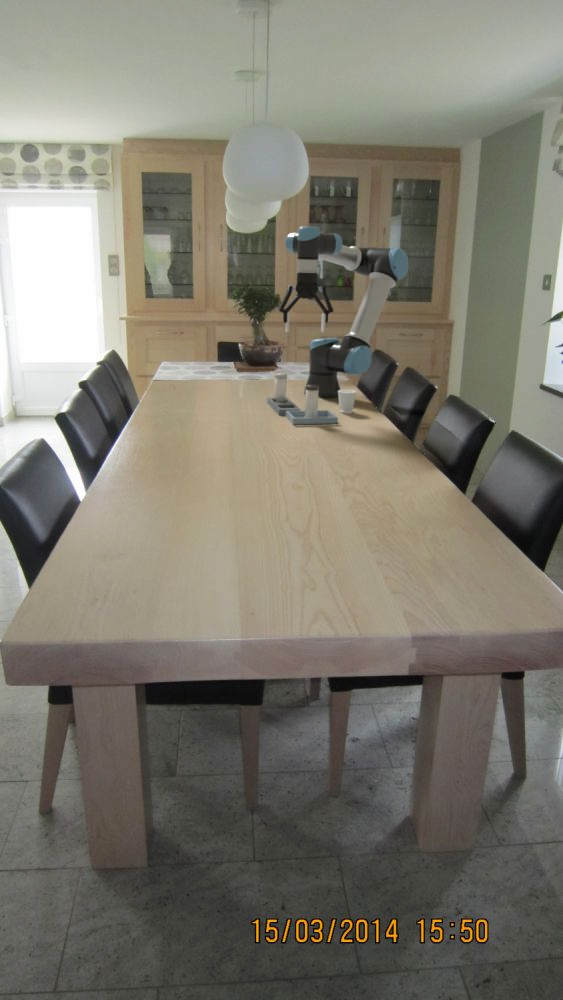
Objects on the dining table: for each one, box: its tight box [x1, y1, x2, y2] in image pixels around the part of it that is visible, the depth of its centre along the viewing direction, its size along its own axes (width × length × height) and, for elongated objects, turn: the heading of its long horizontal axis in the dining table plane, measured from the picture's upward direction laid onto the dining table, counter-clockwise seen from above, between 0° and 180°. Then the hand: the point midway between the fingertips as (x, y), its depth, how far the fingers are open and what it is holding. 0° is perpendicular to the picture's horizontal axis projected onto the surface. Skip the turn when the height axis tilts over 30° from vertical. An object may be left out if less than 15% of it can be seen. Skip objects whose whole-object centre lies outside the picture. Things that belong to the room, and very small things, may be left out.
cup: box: [337, 389, 357, 415], centre depth 281 cm, size 7×10×8 cm
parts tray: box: [285, 409, 339, 426], centre depth 266 cm, size 16×12×2 cm
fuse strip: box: [266, 396, 302, 416], centre depth 282 cm, size 8×22×2 cm, turn 12°
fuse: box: [274, 372, 288, 402], centre depth 285 cm, size 5×5×12 cm
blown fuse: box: [304, 384, 319, 418], centre depth 264 cm, size 5×5×12 cm
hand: (305, 331), depth 277 cm, fingers open, 13 cm apart
